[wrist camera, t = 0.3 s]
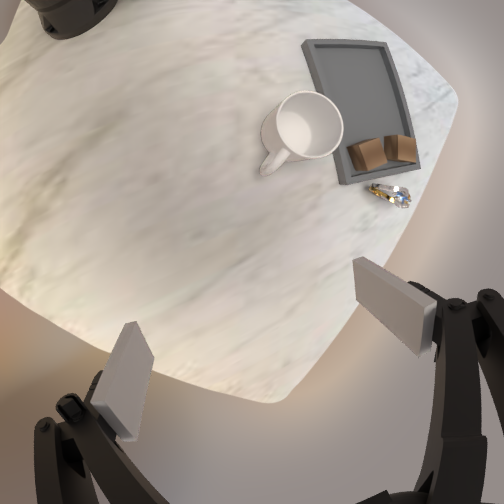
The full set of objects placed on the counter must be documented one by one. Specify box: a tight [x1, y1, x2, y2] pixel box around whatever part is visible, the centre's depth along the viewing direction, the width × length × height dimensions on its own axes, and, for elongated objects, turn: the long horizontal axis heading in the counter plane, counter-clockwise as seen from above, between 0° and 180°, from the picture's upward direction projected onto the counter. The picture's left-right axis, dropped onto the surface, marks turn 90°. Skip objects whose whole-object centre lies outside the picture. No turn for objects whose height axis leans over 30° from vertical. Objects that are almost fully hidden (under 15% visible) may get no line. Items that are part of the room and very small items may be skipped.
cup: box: [259, 91, 343, 176], centre depth 33 cm, size 8×12×10 cm
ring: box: [368, 184, 411, 208], centre depth 39 cm, size 7×3×8 cm, turn 67°
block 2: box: [384, 134, 416, 163], centre depth 38 cm, size 4×4×4 cm
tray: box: [301, 39, 421, 185], centre depth 37 cm, size 24×16×2 cm, turn 15°
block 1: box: [346, 138, 387, 171], centre depth 38 cm, size 4×4×4 cm
